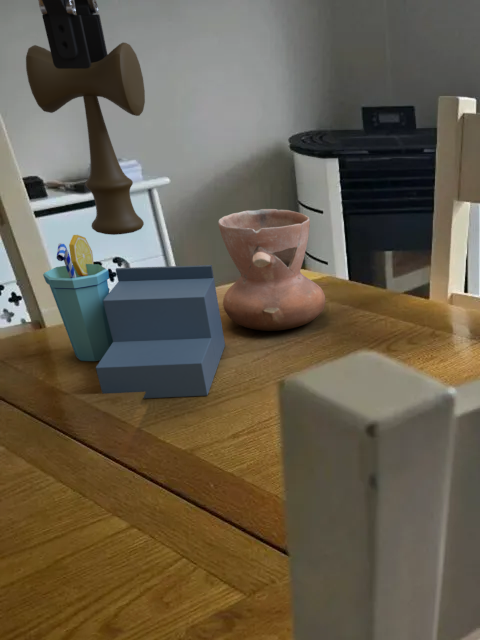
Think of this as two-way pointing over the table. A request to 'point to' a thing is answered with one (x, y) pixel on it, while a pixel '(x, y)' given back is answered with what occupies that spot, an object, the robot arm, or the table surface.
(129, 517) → the table surface
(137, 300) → the step rack
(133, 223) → the kendama
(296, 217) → the ceramic jug
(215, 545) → the table surface
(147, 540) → the table surface
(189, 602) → the table surface
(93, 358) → the cup
